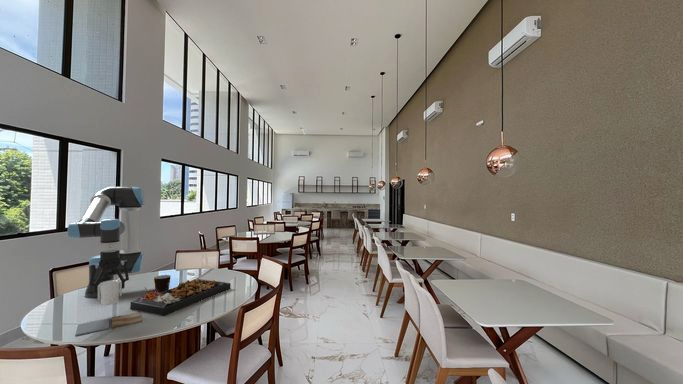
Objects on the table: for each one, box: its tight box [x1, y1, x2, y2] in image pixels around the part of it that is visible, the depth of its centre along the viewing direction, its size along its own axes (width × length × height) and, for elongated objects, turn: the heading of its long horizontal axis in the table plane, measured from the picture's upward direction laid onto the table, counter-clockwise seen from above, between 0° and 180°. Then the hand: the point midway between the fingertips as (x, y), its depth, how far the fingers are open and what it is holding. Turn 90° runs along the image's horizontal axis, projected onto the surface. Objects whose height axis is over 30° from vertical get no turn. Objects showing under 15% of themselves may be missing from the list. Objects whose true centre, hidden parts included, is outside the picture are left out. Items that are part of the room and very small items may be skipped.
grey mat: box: [75, 317, 110, 337], centre depth 130 cm, size 13×11×1 cm
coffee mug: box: [153, 274, 171, 292], centre depth 178 cm, size 12×9×10 cm
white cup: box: [100, 279, 121, 306], centre depth 144 cm, size 8×8×10 cm
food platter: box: [129, 278, 232, 317], centre depth 168 cm, size 45×25×10 cm, turn 158°
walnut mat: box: [111, 311, 143, 329], centre depth 138 cm, size 13×11×1 cm
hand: (109, 297), depth 144 cm, fingers closed on white cup, 8 cm apart
